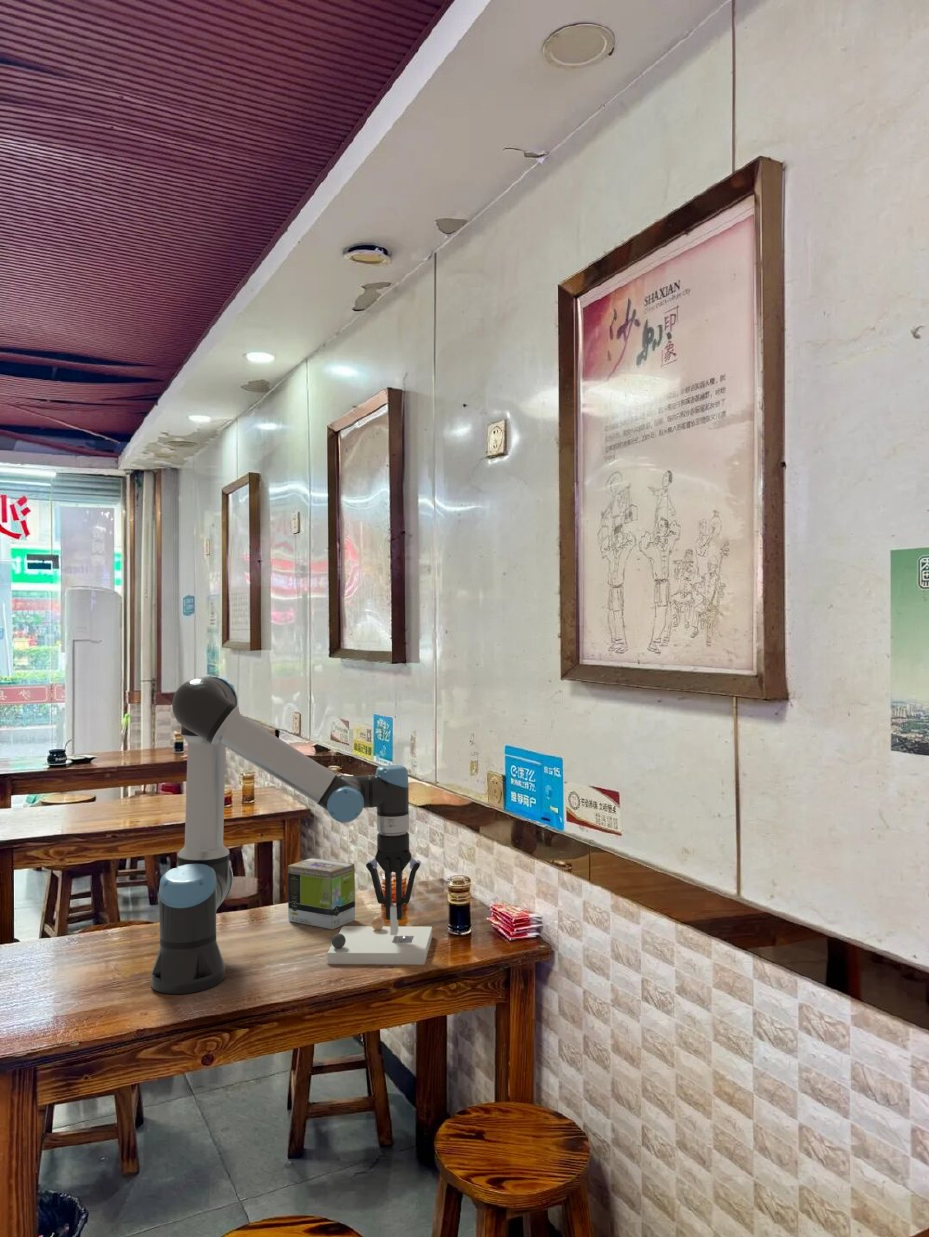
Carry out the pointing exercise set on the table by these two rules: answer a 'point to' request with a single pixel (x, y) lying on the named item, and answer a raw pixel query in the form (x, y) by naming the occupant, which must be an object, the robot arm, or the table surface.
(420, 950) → the platform
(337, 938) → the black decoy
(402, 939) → the steel ball
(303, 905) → the tea box
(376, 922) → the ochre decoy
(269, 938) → the table surface
